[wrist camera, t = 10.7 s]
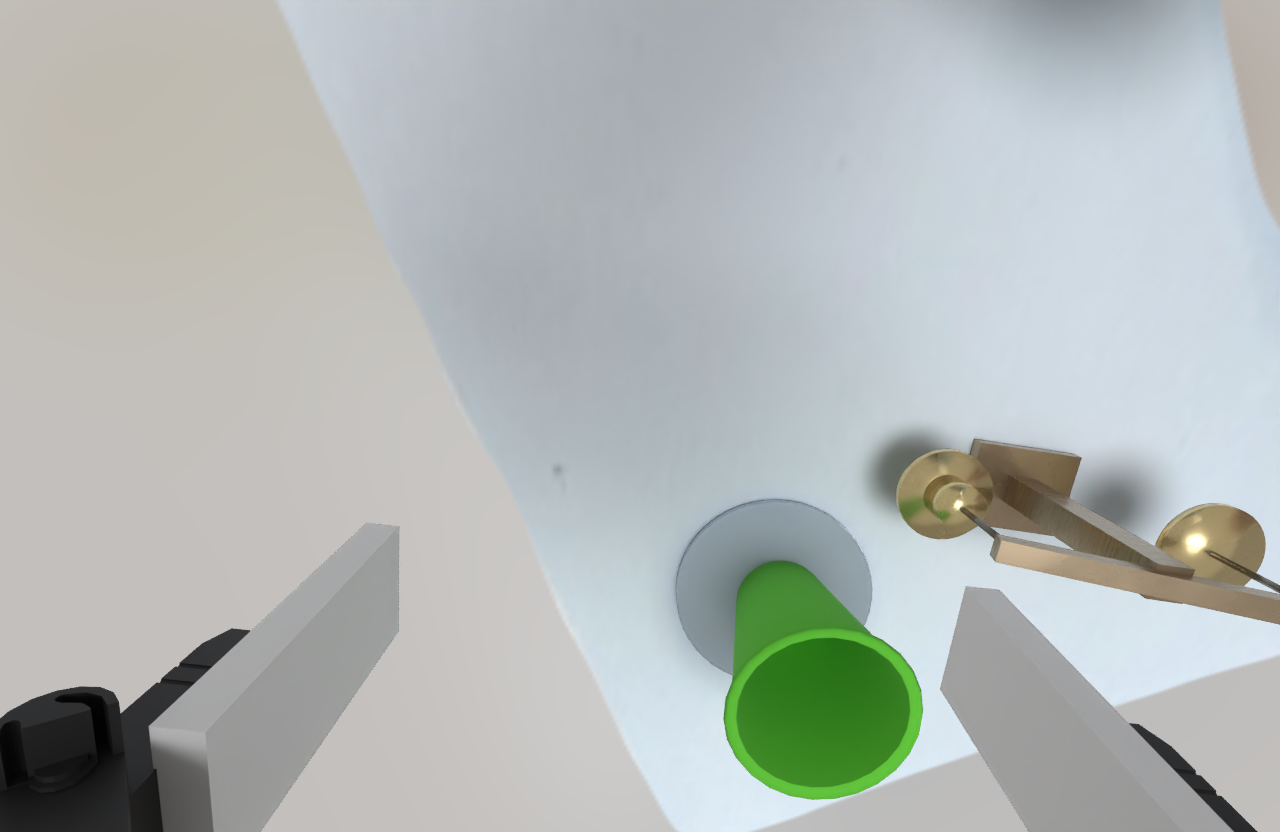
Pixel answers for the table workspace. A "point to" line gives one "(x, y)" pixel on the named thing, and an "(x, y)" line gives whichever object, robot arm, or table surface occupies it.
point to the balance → (1086, 529)
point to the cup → (814, 690)
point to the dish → (751, 542)
